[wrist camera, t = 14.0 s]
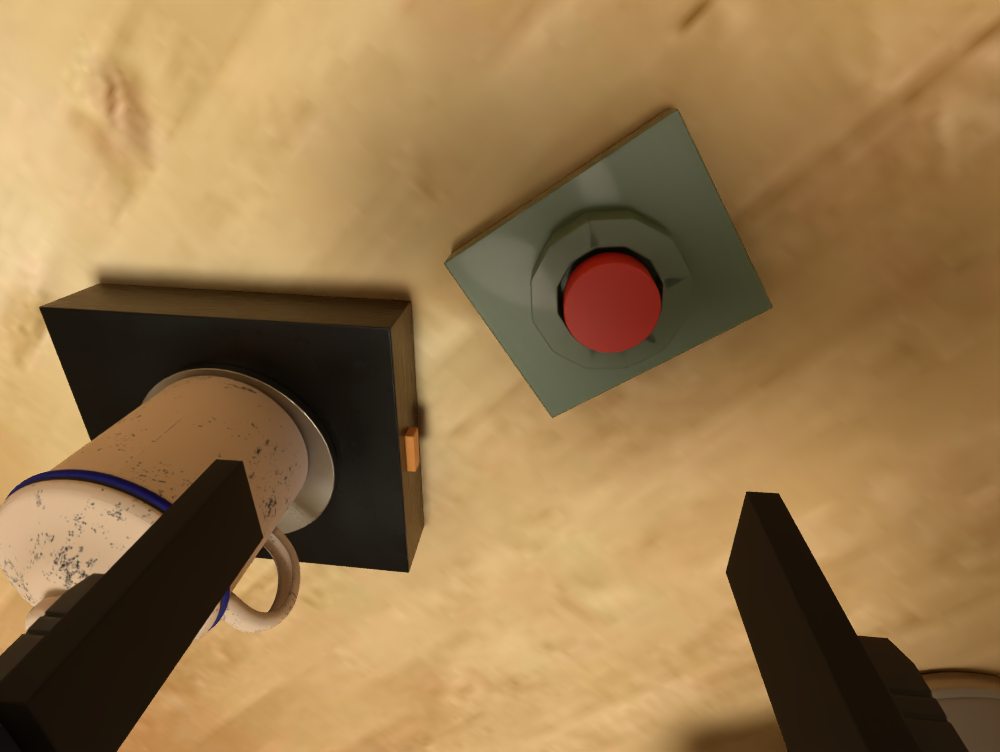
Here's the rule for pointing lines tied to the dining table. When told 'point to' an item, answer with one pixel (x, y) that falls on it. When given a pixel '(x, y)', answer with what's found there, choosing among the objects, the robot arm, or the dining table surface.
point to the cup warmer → (273, 395)
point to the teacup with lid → (156, 493)
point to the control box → (612, 228)
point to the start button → (611, 302)
